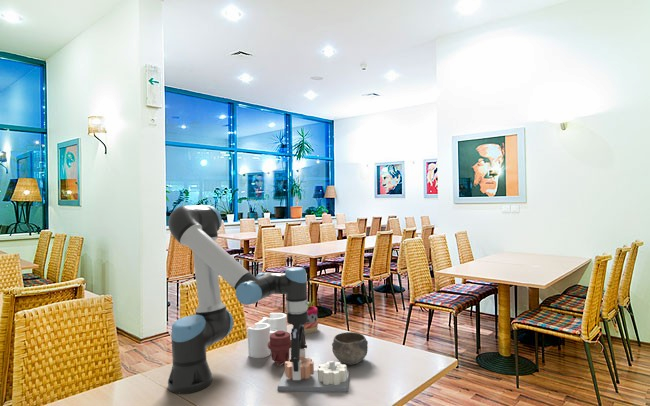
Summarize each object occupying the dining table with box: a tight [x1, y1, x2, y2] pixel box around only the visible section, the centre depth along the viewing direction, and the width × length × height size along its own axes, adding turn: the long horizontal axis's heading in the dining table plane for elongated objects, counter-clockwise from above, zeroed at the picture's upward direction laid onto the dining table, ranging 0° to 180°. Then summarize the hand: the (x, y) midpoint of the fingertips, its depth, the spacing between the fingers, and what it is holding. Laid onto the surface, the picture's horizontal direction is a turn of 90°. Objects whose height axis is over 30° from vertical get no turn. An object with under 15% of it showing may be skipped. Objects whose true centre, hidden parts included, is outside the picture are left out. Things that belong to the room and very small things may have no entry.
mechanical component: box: [268, 331, 291, 367], centre depth 163 cm, size 12×10×10 cm
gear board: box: [277, 360, 350, 393], centre depth 144 cm, size 24×13×8 cm, turn 84°
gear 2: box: [317, 361, 348, 385], centre depth 143 cm, size 10×10×4 cm
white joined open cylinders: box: [246, 312, 288, 359], centre depth 180 cm, size 25×10×12 cm, turn 161°
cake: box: [304, 300, 319, 334], centre depth 202 cm, size 10×11×15 cm
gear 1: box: [284, 357, 315, 379], centre depth 145 cm, size 10×10×4 cm
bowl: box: [331, 331, 369, 366], centre depth 162 cm, size 14×15×10 cm
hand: (299, 372), depth 145 cm, fingers closed on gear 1, 10 cm apart
